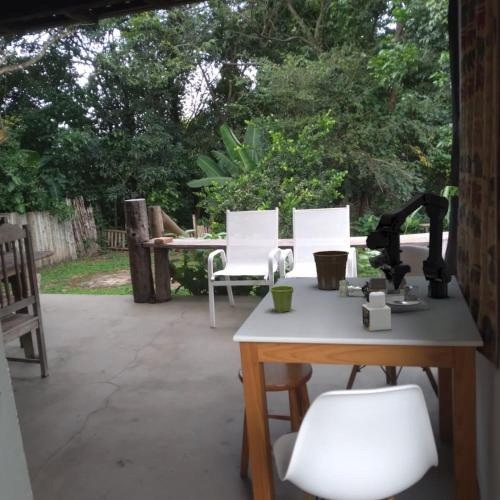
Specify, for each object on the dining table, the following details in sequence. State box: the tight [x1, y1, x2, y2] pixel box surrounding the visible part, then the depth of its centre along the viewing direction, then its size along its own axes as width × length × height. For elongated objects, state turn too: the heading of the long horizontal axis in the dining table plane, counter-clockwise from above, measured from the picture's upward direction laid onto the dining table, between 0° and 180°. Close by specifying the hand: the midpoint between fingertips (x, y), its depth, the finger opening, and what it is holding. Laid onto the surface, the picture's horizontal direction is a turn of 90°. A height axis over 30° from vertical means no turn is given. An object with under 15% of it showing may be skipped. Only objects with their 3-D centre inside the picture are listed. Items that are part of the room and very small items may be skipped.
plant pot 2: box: [312, 250, 350, 291], centre depth 221 cm, size 16×16×16 cm
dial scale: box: [385, 295, 430, 314], centre depth 181 cm, size 17×14×3 cm
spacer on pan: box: [403, 284, 419, 301], centre depth 181 cm, size 5×5×5 cm
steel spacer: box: [385, 279, 402, 295], centre depth 180 cm, size 5×5×5 cm
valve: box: [338, 279, 370, 298], centre depth 202 cm, size 7×7×12 cm
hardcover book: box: [368, 277, 407, 293], centre depth 217 cm, size 16×23×2 cm
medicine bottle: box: [361, 290, 392, 332], centre depth 157 cm, size 7×7×12 cm
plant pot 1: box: [269, 285, 295, 313], centre depth 186 cm, size 9×9×9 cm
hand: (393, 288), depth 180 cm, fingers closed on steel spacer, 5 cm apart
